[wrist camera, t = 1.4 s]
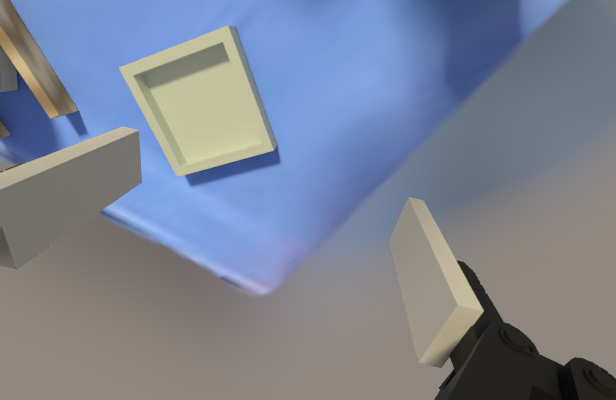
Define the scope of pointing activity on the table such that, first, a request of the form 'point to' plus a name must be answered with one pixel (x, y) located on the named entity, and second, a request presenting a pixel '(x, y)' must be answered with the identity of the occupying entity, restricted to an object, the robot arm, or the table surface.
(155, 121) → the tray
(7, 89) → the supplement box
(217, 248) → the table surface
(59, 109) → the open u-shaped frame
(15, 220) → the robot arm
